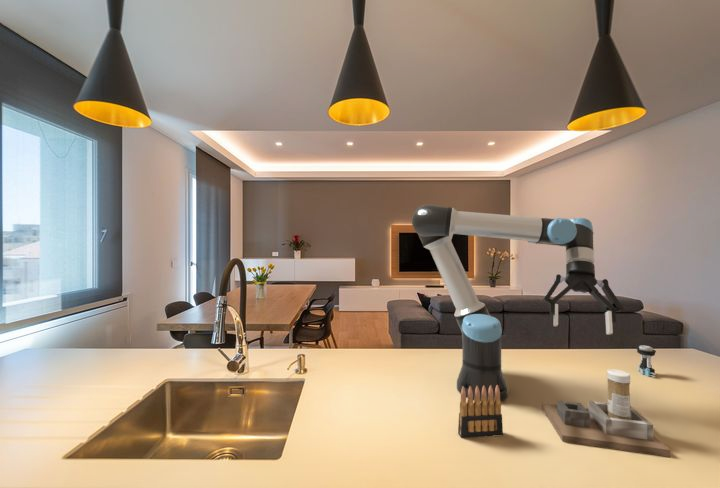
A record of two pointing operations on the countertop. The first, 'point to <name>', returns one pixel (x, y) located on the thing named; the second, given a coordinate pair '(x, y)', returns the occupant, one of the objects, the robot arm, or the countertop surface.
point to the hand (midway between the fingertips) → (581, 329)
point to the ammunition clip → (480, 413)
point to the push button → (646, 360)
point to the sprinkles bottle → (618, 394)
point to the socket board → (603, 428)
